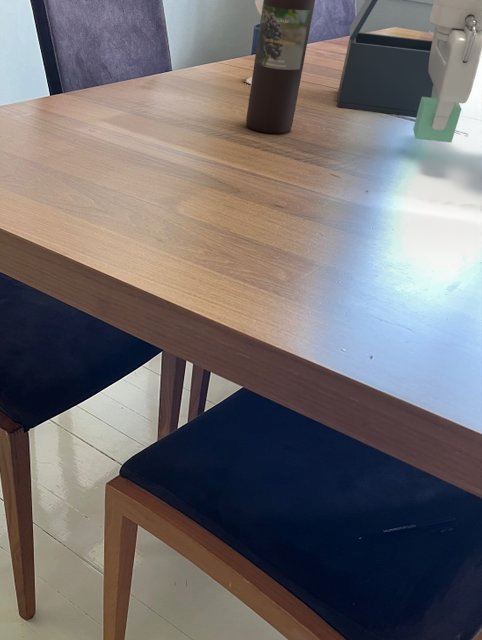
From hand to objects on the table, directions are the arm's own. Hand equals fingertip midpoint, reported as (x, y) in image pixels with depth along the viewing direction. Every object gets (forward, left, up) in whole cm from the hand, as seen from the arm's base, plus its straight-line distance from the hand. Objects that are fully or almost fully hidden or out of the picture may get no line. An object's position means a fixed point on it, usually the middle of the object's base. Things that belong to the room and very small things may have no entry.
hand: (435, 123), depth 104 cm
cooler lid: (+10, -29, +13) cm, 33 cm away
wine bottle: (+24, -3, -4) cm, 24 cm away
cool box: (+6, -29, -4) cm, 30 cm away
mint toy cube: (0, 0, -2) cm, 2 cm away
